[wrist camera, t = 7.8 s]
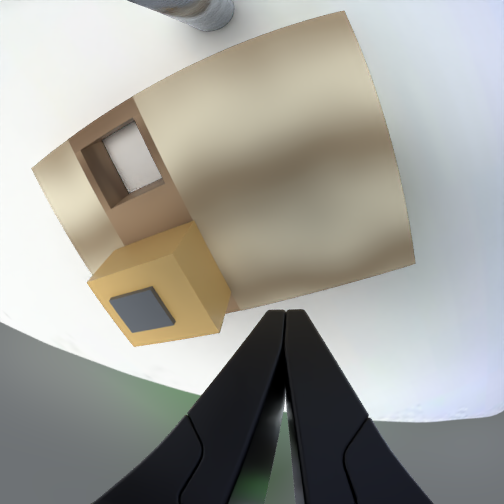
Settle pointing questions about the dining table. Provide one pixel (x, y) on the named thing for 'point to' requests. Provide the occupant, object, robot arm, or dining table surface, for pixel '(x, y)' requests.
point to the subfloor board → (251, 167)
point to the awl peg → (194, 11)
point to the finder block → (163, 287)
